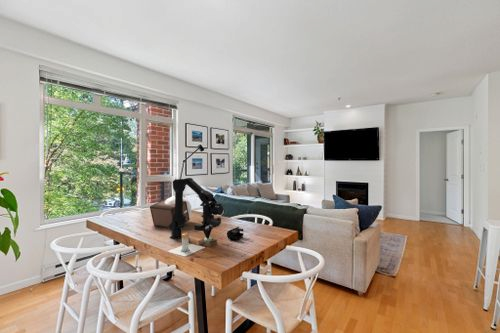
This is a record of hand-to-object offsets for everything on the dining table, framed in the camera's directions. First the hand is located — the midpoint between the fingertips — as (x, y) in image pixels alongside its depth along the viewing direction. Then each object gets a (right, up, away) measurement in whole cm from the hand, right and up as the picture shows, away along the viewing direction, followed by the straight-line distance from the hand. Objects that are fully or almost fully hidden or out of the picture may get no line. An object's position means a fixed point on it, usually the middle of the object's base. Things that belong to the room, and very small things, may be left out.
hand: (207, 238), depth 147 cm
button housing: (0, -3, 0) cm, 3 cm away
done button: (0, -3, 0) cm, 3 cm away
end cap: (+17, -3, +10) cm, 20 cm away
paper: (-11, -4, -10) cm, 15 cm away
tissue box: (-36, -3, +47) cm, 60 cm away
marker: (-11, -3, -12) cm, 16 cm away
